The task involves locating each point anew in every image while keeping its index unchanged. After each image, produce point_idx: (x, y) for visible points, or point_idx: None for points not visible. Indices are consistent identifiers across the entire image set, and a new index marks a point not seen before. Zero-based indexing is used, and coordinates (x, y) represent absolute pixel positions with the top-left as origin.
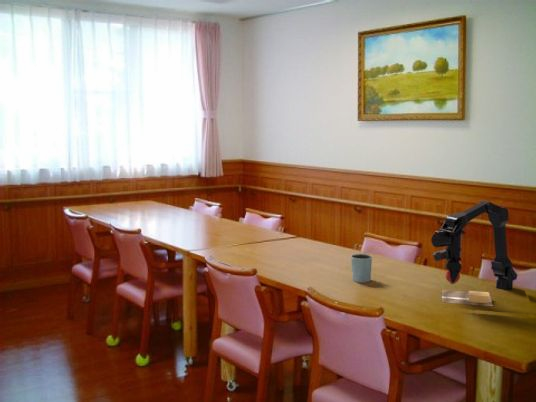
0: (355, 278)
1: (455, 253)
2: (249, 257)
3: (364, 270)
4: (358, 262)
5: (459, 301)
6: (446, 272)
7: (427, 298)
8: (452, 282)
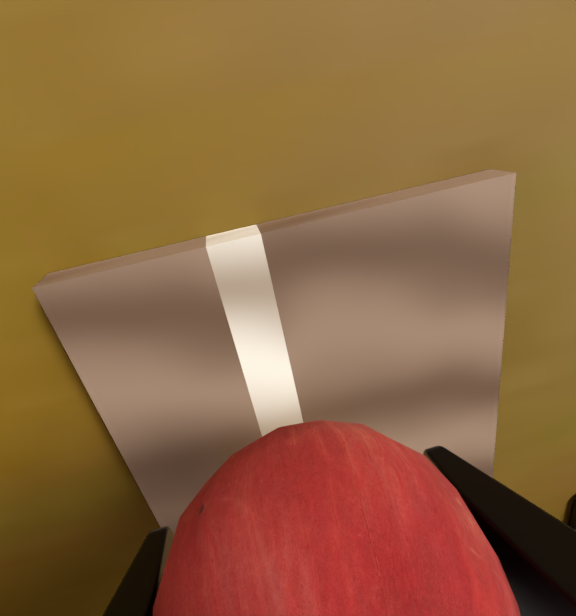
0: None
1: None
2: None
3: None
4: None
5: (173, 421)
6: (324, 597)
7: (220, 38)
8: (156, 540)
